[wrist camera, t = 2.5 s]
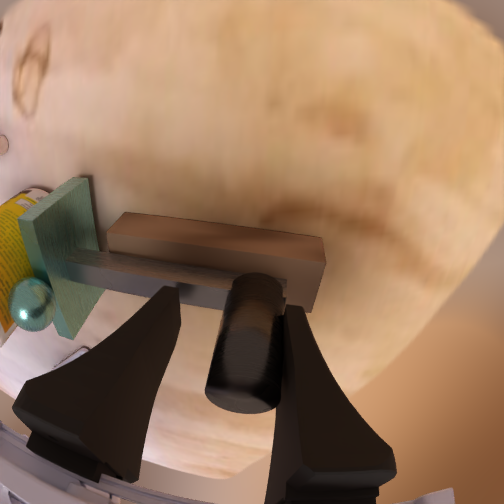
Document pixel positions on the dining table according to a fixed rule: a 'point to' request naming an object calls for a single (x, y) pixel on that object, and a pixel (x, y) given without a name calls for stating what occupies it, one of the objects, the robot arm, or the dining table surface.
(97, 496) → the robot arm
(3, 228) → the supplement bottle
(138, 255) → the guide
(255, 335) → the slider rail assembly
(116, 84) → the dining table surface
